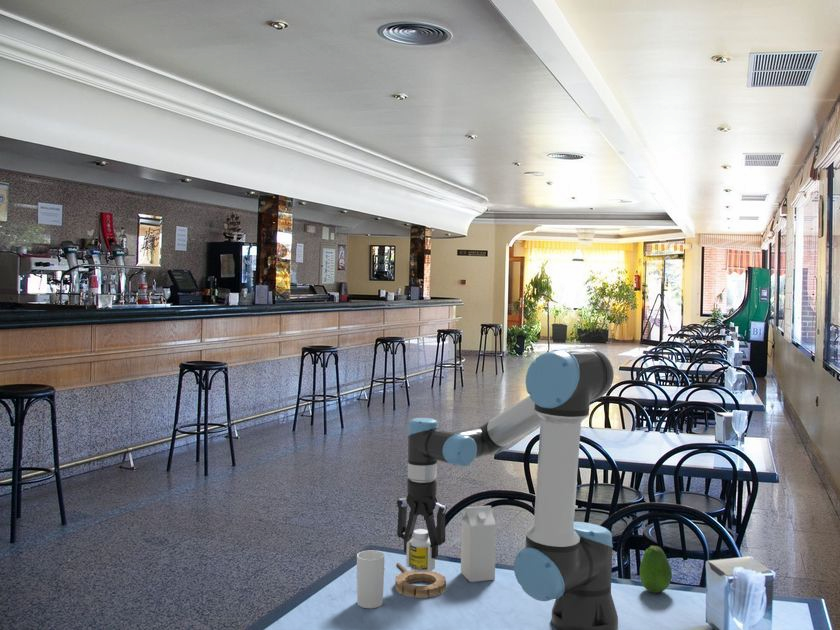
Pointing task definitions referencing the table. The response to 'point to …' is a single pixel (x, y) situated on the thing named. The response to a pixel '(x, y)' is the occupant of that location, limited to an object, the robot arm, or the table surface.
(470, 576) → the milk carton
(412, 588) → the bead ring
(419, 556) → the supplement bottle
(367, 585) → the mug
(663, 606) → the table surface
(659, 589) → the fruit
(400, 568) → the brown wooden stick
